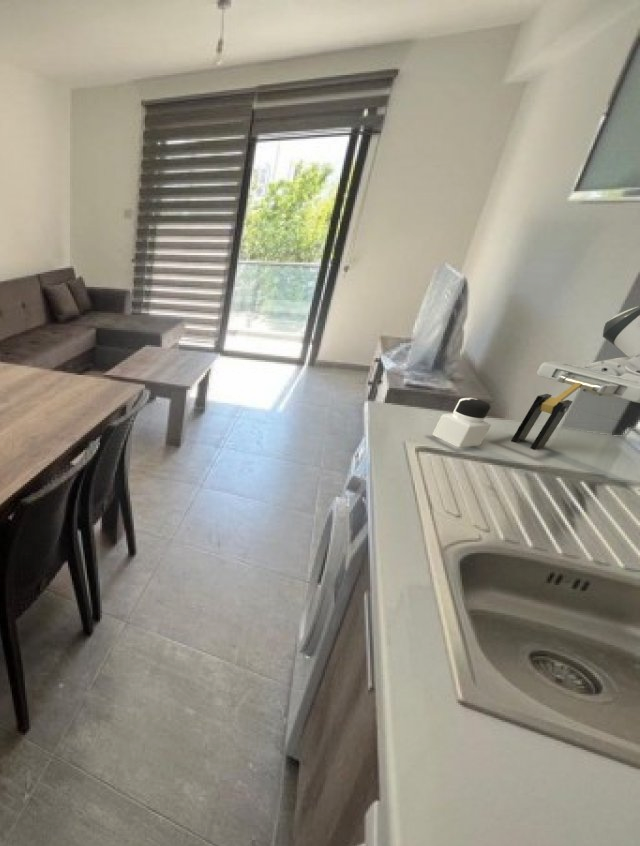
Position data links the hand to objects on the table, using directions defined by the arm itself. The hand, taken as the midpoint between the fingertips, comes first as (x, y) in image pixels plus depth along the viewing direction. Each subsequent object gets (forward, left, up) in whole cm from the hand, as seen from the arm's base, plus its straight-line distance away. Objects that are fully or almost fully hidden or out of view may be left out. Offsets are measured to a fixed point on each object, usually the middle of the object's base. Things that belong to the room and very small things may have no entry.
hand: (578, 383), depth 116 cm
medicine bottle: (+8, +24, -17) cm, 30 cm away
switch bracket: (0, +8, -17) cm, 18 cm away
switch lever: (0, +3, -4) cm, 5 cm away
